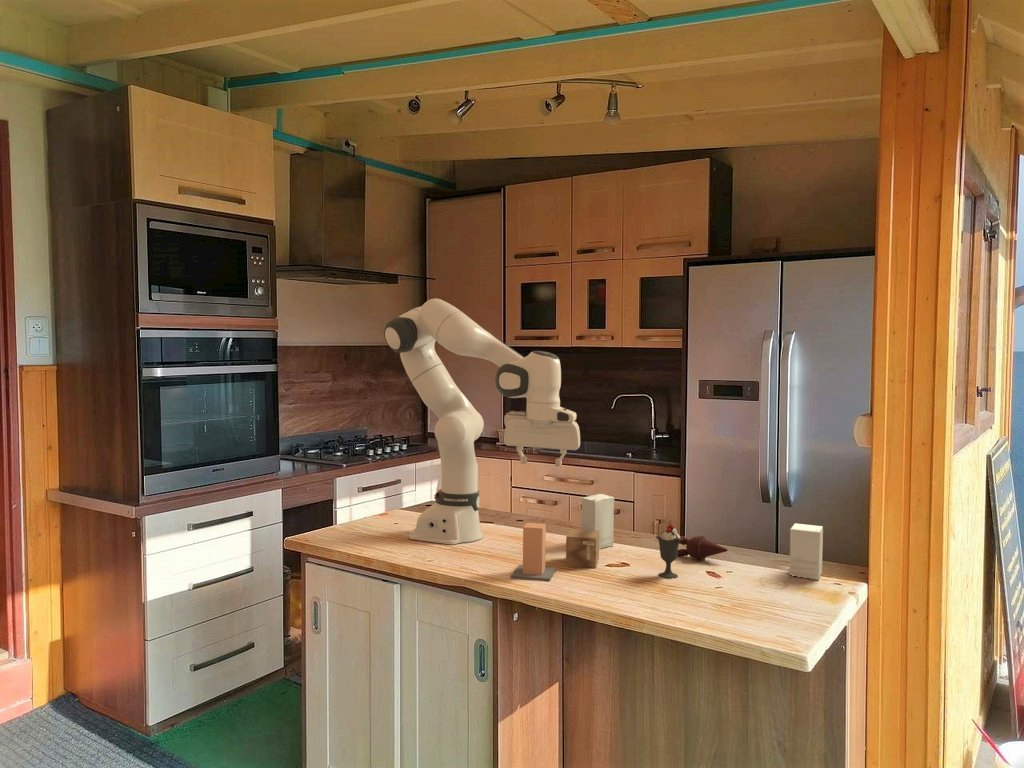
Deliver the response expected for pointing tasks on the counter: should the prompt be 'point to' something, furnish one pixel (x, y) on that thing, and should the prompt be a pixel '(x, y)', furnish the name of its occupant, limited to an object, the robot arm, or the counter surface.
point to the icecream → (699, 548)
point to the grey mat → (545, 576)
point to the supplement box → (806, 551)
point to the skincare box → (599, 517)
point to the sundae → (669, 549)
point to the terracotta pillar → (534, 548)
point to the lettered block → (582, 548)
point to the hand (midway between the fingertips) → (540, 464)
